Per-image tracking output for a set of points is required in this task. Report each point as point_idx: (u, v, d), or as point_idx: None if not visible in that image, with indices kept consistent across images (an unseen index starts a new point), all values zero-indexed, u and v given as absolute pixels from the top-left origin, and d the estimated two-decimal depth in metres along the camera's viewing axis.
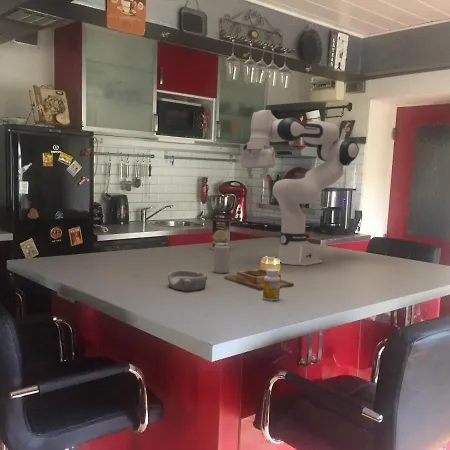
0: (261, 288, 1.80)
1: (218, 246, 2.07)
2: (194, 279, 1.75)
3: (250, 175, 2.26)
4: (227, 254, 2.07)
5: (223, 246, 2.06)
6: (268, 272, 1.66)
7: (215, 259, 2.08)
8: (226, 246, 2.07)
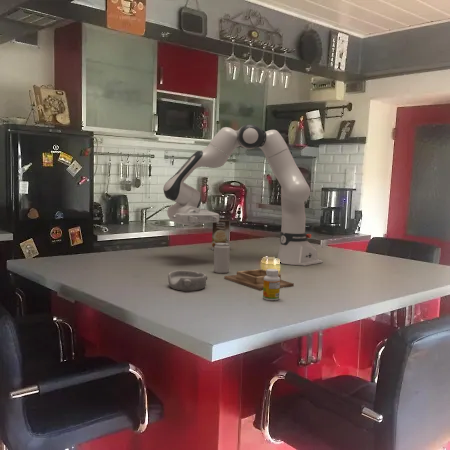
0: (261, 288, 1.80)
1: (218, 246, 2.07)
2: (194, 279, 1.75)
3: (213, 220, 2.21)
4: (227, 254, 2.07)
5: (223, 246, 2.06)
6: (268, 272, 1.66)
7: (215, 259, 2.08)
8: (226, 246, 2.07)
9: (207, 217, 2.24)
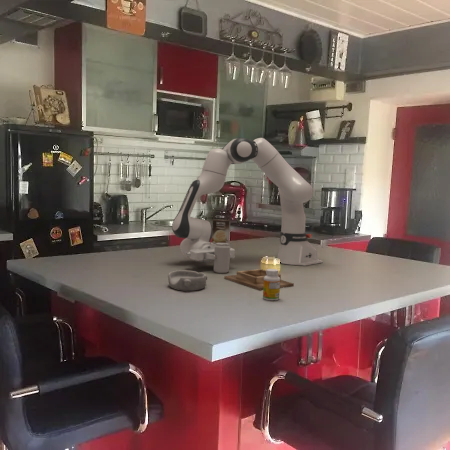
0: (261, 288, 1.80)
1: (218, 246, 2.07)
2: (194, 279, 1.75)
3: None
4: (227, 254, 2.07)
5: (223, 246, 2.06)
6: (268, 272, 1.66)
7: (215, 259, 2.08)
8: (226, 246, 2.07)
9: None
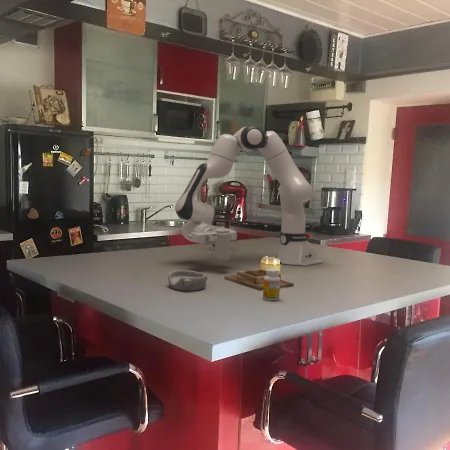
0: (261, 288, 1.80)
1: (219, 233, 2.06)
2: (194, 279, 1.75)
3: None
4: (228, 241, 2.07)
5: (224, 233, 2.06)
6: (268, 272, 1.66)
7: (216, 246, 2.07)
8: (227, 233, 2.06)
9: None
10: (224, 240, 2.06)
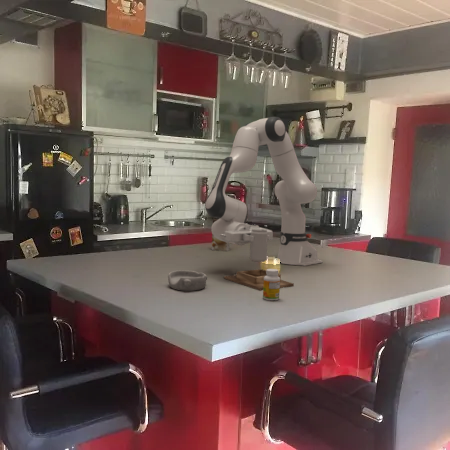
0: (261, 288, 1.80)
1: (256, 232, 1.89)
2: (194, 279, 1.75)
3: None
4: (265, 241, 1.90)
5: (262, 232, 1.89)
6: (268, 272, 1.66)
7: (252, 246, 1.90)
8: (265, 232, 1.89)
9: None
10: (261, 240, 1.89)
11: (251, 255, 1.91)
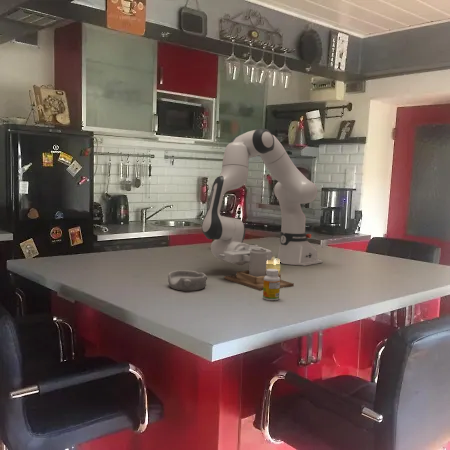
0: (261, 288, 1.80)
1: (256, 252, 1.89)
2: (194, 279, 1.75)
3: None
4: (265, 260, 1.90)
5: (261, 251, 1.89)
6: (268, 272, 1.66)
7: (252, 266, 1.90)
8: (264, 251, 1.89)
9: None
10: (261, 259, 1.89)
11: (250, 274, 1.91)
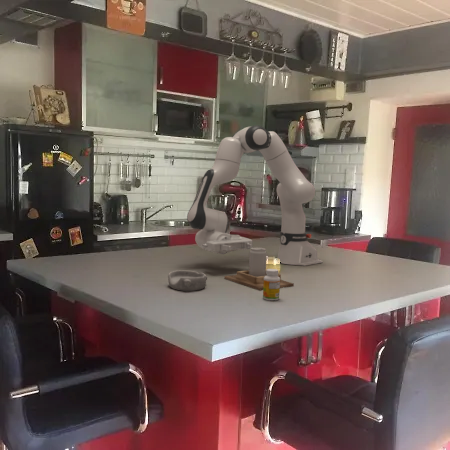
0: (261, 288, 1.80)
1: (255, 251, 1.89)
2: (194, 279, 1.75)
3: (247, 247, 2.06)
4: (265, 260, 1.90)
5: (261, 251, 1.89)
6: (268, 272, 1.66)
7: (252, 266, 1.90)
8: (264, 251, 1.90)
9: (240, 244, 2.09)
10: (260, 259, 1.89)
11: (250, 274, 1.91)
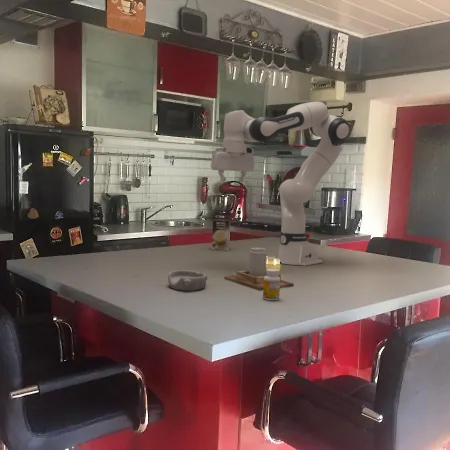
0: (261, 288, 1.80)
1: (255, 251, 1.89)
2: (194, 279, 1.75)
3: (239, 179, 2.18)
4: (265, 260, 1.90)
5: (261, 251, 1.89)
6: (268, 272, 1.66)
7: (251, 266, 1.90)
8: (264, 251, 1.90)
9: None
10: (260, 259, 1.89)
11: (250, 274, 1.91)
